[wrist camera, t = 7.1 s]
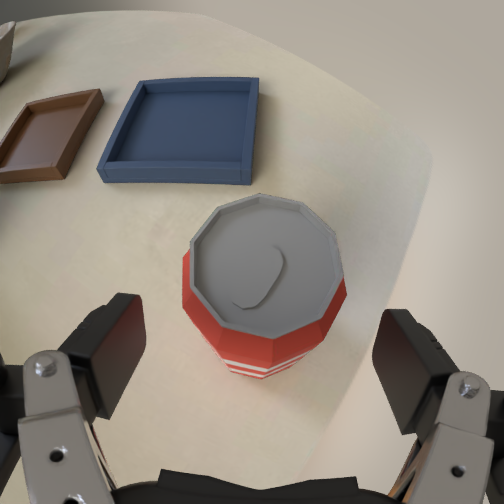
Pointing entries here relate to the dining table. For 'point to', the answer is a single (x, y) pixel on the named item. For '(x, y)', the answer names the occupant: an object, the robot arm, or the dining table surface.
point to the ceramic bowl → (6, 47)
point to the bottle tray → (47, 137)
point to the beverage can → (263, 283)
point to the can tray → (185, 132)
